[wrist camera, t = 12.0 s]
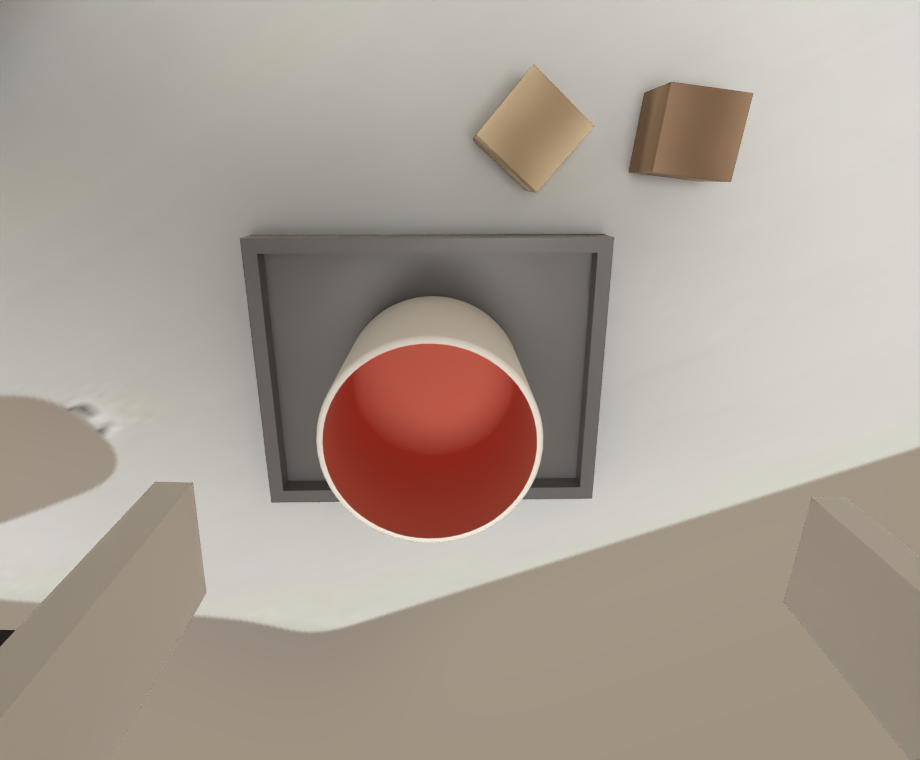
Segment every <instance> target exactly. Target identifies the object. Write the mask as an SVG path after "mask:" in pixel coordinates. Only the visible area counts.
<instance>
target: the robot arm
mask: <svg viewBox="0 0 920 760" xmlns="http://www.w3.org/2000/svg"><path fill="white" fill-rule="evenodd" d="M205 594H206V586H205V578H204V570H203V562H202V553H201V545H200V537H199V529H198V520H197V512H196V504H195V496H194V487H193V483H179V482H155V483H154V484H153V485H152V486H151V487H150V488H149V489H148V490H147V491H146V492H145V493H144V494H143V495H142V497H141V498H140V499H139V500H138V501H137V502H136V503H135V504H134V505H133V506H132V507H131V508H130V509H129V510H128V511H127V512H126V514H125V515H124V516H123V517H122V518H121V519H120V520H119V521H118V522H117V523H116V524H115V525H114V526H113V527H112V528H111V529H110V531H109V532H108V533H107V534H106V535H105V536H104V537H103V538H102V539H101V540H100V541H99V542H98V543H97V544H96V545H95V546H94V548H93V549H92V550H91V551H90V552H89V553H88V554H87V555H86V556H85V557H84V558H83V559H82V560H81V561H80V562H79V563H78V565H77V566H76V567H75V568H74V569H73V570H72V571H71V572H70V573H69V574H68V575H67V576H66V577H65V578H64V579H63V580H62V582H61V583H60V584H59V585H58V586H57V587H56V588H55V589H54V590H53V591H52V592H51V593H50V594H49V595H48V596H47V597H46V599H45V600H44V601H43V602H42V603H41V604H40V605H39V606H38V607H37V608H36V609H35V610H34V611H33V613H32V614H31V615H30V616H29V617H28V618H27V619H26V620H25V621H24V622H23V623H22V624H21V625H20V626H19V627H18V628H17V629H16V630H0V760H111V759H112V758H113V756H114V754H115V752H116V751H117V749H118V747H119V745H120V744H121V742H122V740H123V738H124V736H125V735H126V733H127V731H128V729H129V728H130V726H131V724H132V722H133V721H134V719H135V717H136V715H137V714H138V712H139V710H140V708H141V707H142V705H143V703H144V701H145V700H146V698H147V696H148V694H149V693H150V691H151V689H152V687H153V685H154V684H155V682H156V680H157V678H158V677H159V675H160V673H161V671H162V670H163V668H164V666H165V664H166V662H167V661H168V659H169V657H170V656H171V654H172V652H173V650H174V649H175V647H176V645H177V643H178V642H179V640H180V638H181V636H182V634H183V633H184V631H185V629H186V628H187V626H188V624H189V622H190V621H191V619H192V617H193V615H194V613H195V612H196V610H197V608H198V606H199V605H200V603H201V601H202V599H203V598H204V596H205ZM783 602H784V604H785V605H786V606H787V607H788V609H789V610H790V611H791V612H792V613H793V615H794V616H795V617H796V619H797V620H798V621H799V622H800V624H801V625H802V626H803V627H804V629H805V630H806V631H807V632H808V634H809V635H810V636H811V637H812V639H813V640H814V641H815V643H816V644H817V645H818V646H819V648H821V650H822V651H823V652H824V654H825V655H826V656H827V657H828V659H829V660H830V661H831V663H832V664H833V665H834V666H835V668H836V669H837V670H838V671H839V672H840V674H841V675H842V676H843V678H844V679H845V680H846V681H847V683H848V684H849V685H850V686H851V688H852V689H853V690H854V691H855V692H856V694H857V695H858V696H859V698H860V699H861V700H862V701H863V703H864V704H865V705H866V706H867V707H868V709H869V710H870V711H871V713H872V714H873V715H874V716H875V718H876V719H877V720H878V721H879V723H880V724H881V725H882V726H883V728H884V729H885V730H886V731H887V733H888V734H889V735H890V736H891V738H892V739H893V740H894V741H895V743H896V744H897V745H898V746H899V748H900V749H901V750H902V751H903V753H904V754H905V755H906V756H907V758H908V759H909V760H920V557H919V556H918V555H917V554H916V553H914V552H913V551H912V550H911V549H909V548H908V547H907V546H906V545H904V544H903V543H902V542H900V541H899V540H898V539H897V538H896V537H894V536H893V535H892V534H891V533H889V532H888V531H887V530H885V529H884V528H883V527H882V526H880V525H879V524H878V523H877V522H875V521H874V520H873V519H872V518H870V517H869V516H868V515H867V514H866V513H864V512H863V511H862V510H860V509H859V508H858V507H857V506H855V505H854V504H853V503H852V502H850V501H849V500H848V499H847V498H827V497H826V498H825V497H812V498H811V501H810V504H809V508H808V512H807V516H806V520H805V523H804V527H803V530H802V534H801V538H800V542H799V545H798V549H797V553H796V556H795V560H794V564H793V567H792V572H791V575H790V579H789V582H788V586H787V590H786V593H785V597H784V601H783Z"/></svg>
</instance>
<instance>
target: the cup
mask: <svg viewBox="0 0 920 760" xmlns="http://www.w3.org/2000/svg"><path fill="white" fill-rule="evenodd" d="M316 443H317V453H318V458H319V462H320V466H321V469H322V472H323V474H324V477H325V479H326V481H327V483H328V485H329V487H330V489H331V490H332V492H333V493H334V495H335V496H336V497H337V499H338V500H339V501H340V502H341V503H342V505H343V506H344V507H345V508H346V509H347V510H348V511H349V512H350V513H352V514H353V515H354V516H355V517H357V518H358V519H359V520H360V521H362V522H364V523H365V524H367V525H368V526H370V527H372V528H374V529H375V530H377V531H380V532H382V533H384V534H387V535H390V536H393V537H396V538H400V539H404V540H409V541H416V542H444V541H451V540H457V539H461V538H464V537H468V536H471V535H474V534H476V533H478V532H481V531H483V530H485V529H487V528H489V527H491V526H492V525H494V524H495V523H497V522H498V521H499V520H501V519H502V518H504V517H505V516H506V515H507V514H509V513H510V512H511V511H512V510H513V509H514V508H515V507H516V506H517V505H518V504H519V503H520V501H521V500H522V499H523V497H524V496H525V495H526V493H527V492H528V490H529V488H530V487H531V485H532V483H533V481H534V479H535V477H536V474H537V472H538V468H539V465H540V462H541V457H542V451H543V427H542V421H541V416H540V413H539V409H538V406H537V404H536V402H535V399H534V397H533V394H532V392H531V389H530V387H529V384H528V382H527V379H526V377H525V374H524V372H523V370H522V367H521V365H520V362H519V360H518V357H517V355H516V353H515V350H514V348H513V345H512V344H511V342H510V340H509V338H508V337H507V335H506V333H505V332H504V331H503V330H502V328H501V327H500V326H499V325H498V324H497V323H496V322H495V321H494V320H493V319H492V318H491V317H490V316H488V315H487V314H486V313H485V312H483V311H482V310H480V309H478V308H477V307H475V306H473V305H471V304H468V303H466V302H463V301H460V300H457V299H453V298H448V297H441V296H425V297H417V298H412V299H408V300H405V301H402V302H400V303H397V304H395V305H393V306H391V307H389V308H387V309H386V310H384V311H382V312H381V313H380V314H379V315H377V316H376V317H375V318H374V319H373V320H371V321H370V322H369V324H368V325H367V326H366V327H365V328H364V329H363V330H362V332H361V333H360V335H359V336H358V338H357V339H356V341H355V343H354V345H353V347H352V349H351V351H350V352H349V354H348V356H347V358H346V360H345V362H344V364H343V366H342V367H341V369H340V371H339V373H338V375H337V377H336V379H335V380H334V382H333V384H332V386H331V388H330V390H329V392H328V394H327V396H326V398H325V400H324V402H323V405H322V407H321V411H320V414H319V418H318V424H317V436H316Z"/></svg>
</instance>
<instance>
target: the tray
mask: <svg viewBox="0 0 920 760" xmlns="http://www.w3.org/2000/svg"><path fill="white" fill-rule="evenodd" d="M613 241H614V238H613V237H610V236H608V235H605V234H498V235H250V236H247V237H243V238H240V243H241V251H242V260H243V268H244V276H245V285H246V293H247V302H248V310H249V318H250V327H251V335H252V344H253V352H254V360H255V369H256V377H257V385H258V394H259V402H260V411H261V419H262V427H263V436H264V444H265V453H266V461H267V469H268V478H269V486H270V495H271V502H340V501H339V500H338V499H337V497H336V496H335V495H334V493H333V492H332V490H331V489H330V487H329V485H328V483H327V481H326V479H325V477H324V474H323V472H322V469H321V466H320V462H319V458H318V453H317V443H316V436H317V424H318V418H319V414H320V411H321V407H322V405H323V402H324V400H325V398H326V396H327V394H328V392H329V390H330V388H331V386H332V384H333V382H334V380H335V379H336V377H337V375H338V373H339V371H340V369H341V367H342V366H343V364H344V362H345V360H346V358H347V356H348V354H349V352H350V351H351V349H352V347H353V345H354V343H355V341H356V339H357V338H358V336H359V335H360V333H361V332H362V330H363V329H364V328H365V327H366V326H367V325H368V324H369V322H370V321H371V320H373V319H374V318H375V317H376V316H377V315H379V314H380V313H381V312H382V311H384V310H386V309H387V308H389V307H391V306H393V305H395V304H397V303H400V302H402V301H405V300H408V299H412V298H417V297H425V296H441V297H448V298H453V299H457V300H460V301H463V302H466V303H468V304H471V305H473V306H475V307H477V308H478V309H480V310H482V311H483V312H485V313H486V314H487V315H488V316H490V317H491V318H492V319H493V320H494V321H495V322H496V323H497V324H498V325H499V326H500V327H501V328H502V330H503V331H504V332H505V333H506V335H507V337H508V338H509V340H510V342H511V344H512V345H513V348H514V350H515V353H516V355H517V357H518V360H519V362H520V365H521V367H522V370H523V372H524V374H525V377H526V379H527V382H528V384H529V387H530V389H531V392H532V394H533V397H534V399H535V402H536V404H537V406H538V409H539V413H540V416H541V421H542V427H543V451H542V457H541V462H540V465H539V468H538V472H537V474H536V477H535V479H534V481H533V483H532V485H531V487H530V488H529V490H528V492H527V493H526V495H525V496H524V497H523V499H586V498H592V491H593V480H594V468H595V456H596V444H597V432H598V420H599V408H600V396H601V384H602V372H603V360H604V349H605V337H606V325H607V313H608V301H609V289H610V277H611V265H612V253H613Z"/></svg>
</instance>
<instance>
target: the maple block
mask: <svg viewBox="0 0 920 760" xmlns="http://www.w3.org/2000/svg"><path fill="white" fill-rule="evenodd" d="M593 127H594V125H593V124H592V123H591V122H590V121H589V120H588V119H587V118H586V117H585V116H584V115H583V114H582V113H581V112H580V111H579V110H578V109H577V108H576V107H575V106H574V105H573V104H572V103H571V102H570V101H569V100H568V99H567V98H566V97H565V96H564V95H563V94H562V93H561V92H560V91H559V89H558V88H557V87H556V86H555V85H554V84H553V83H552V82H551V81H550V80H549V79H548V78H547V77H546V76H545V75H544V74H543V73H542V72H541V71H540V70H539V69H538V68H537V67H536V66H535V65H533V66H532V67H531V68H530V69H529V71H528V72H527V73H526V74H525V76H524V77H523V78H522V79H521V80H520V82H519V83H518V84H517V85H516V87H515V88H514V89H513V90H512V91H511V93H510V94H509V95H508V96H507V98H506V99H505V100H504V101H503V102H502V104H501V105H500V106H499V107H498V109H497V110H496V111H495V112H494V113H493V115H492V116H491V117H490V118H489V120H488V121H487V122H486V123H485V125H484V126H483V127H482V128H481V129H480V131H479V132H478V133H477V134H476V136H475V137H474V138H473V140H474V141H475V142H476V143H477V144H478V145H479V146H480V147H481V148H482V149H483V150H484V151H485V152H486V153H487V154H488V155H490V156H491V157H492V158H493V159H494V160H495V161H496V162H497V163H498V164H499V165H500V166H501V167H502V168H503V169H504V170H505V171H506V172H507V173H508V174H510V175H511V176H512V177H513V178H514V179H515V180H516V181H517V182H518V183H519V184H520V185H521V186H522V187H523V188H524V189H525V190H526V191H532V192H537V191H538V190H539V189H540V188H541V187H542V186H543V184H544V183H545V182H546V181H547V180H548V179H549V178H550V176H551V175H552V174H553V173H554V172H555V171H556V169H557V168H558V167H559V166H560V165H561V164H562V163H563V161H564V160H565V159H566V158H567V157H568V156H569V155H570V153H571V152H572V151H573V150H574V149H575V148H576V146H577V145H578V144H579V143H580V142H581V141H582V140H583V138H584V137H585V136H586V135H587V134H588V133H589V132H590V130H591V129H592V128H593Z"/></svg>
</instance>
